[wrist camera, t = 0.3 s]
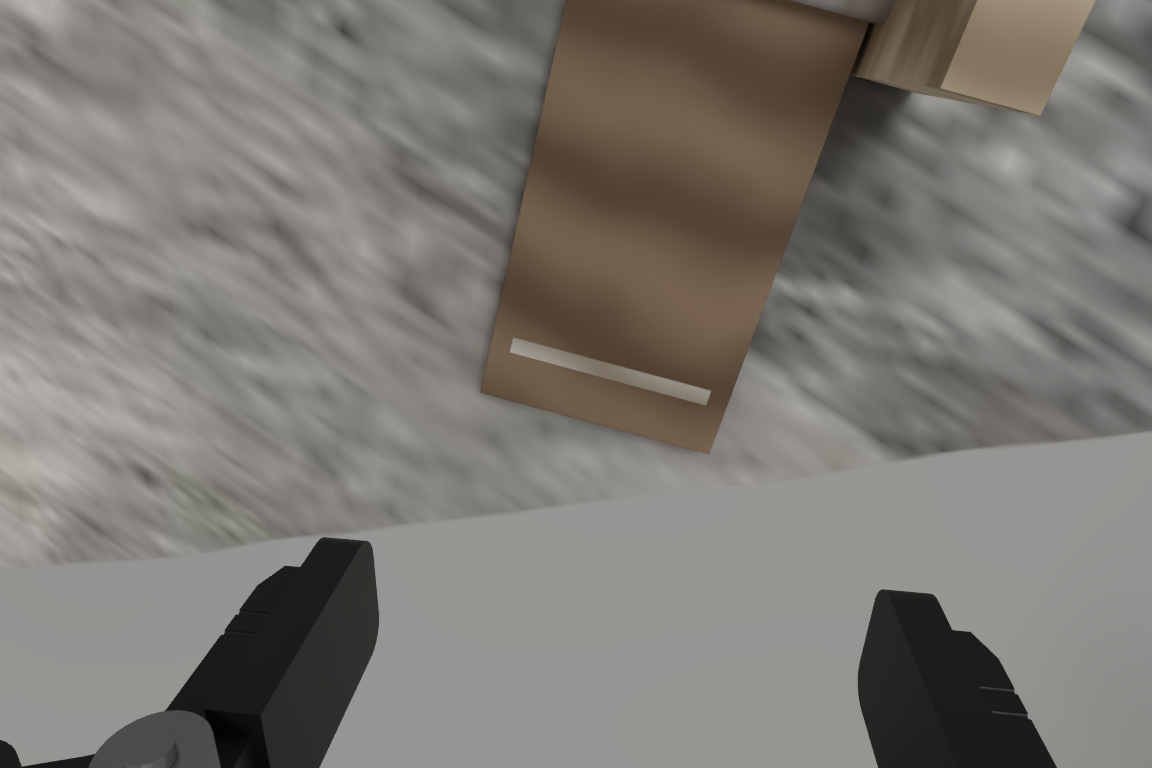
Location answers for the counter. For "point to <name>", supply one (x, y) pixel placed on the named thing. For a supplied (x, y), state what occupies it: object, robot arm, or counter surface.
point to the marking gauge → (967, 46)
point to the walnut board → (662, 205)
